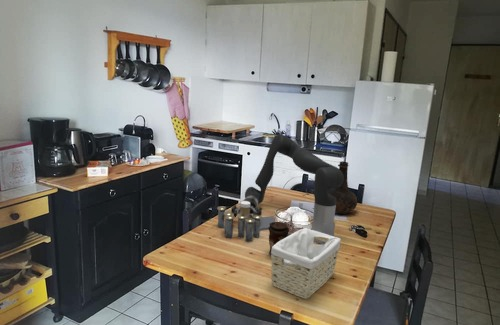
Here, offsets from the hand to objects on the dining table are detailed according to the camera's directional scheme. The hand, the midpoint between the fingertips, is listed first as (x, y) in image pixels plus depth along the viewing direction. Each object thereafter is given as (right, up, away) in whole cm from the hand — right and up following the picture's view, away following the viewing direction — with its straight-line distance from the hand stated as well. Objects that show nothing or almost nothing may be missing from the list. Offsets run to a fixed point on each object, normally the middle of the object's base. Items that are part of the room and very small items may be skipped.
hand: (244, 216), depth 168 cm
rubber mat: (+10, -5, +11) cm, 16 cm away
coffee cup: (+13, -13, -20) cm, 27 cm away
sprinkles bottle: (0, -7, +3) cm, 8 cm away
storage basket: (+22, -17, -38) cm, 47 cm away
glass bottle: (+52, -3, +35) cm, 62 cm away
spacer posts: (-2, -7, -1) cm, 8 cm away
